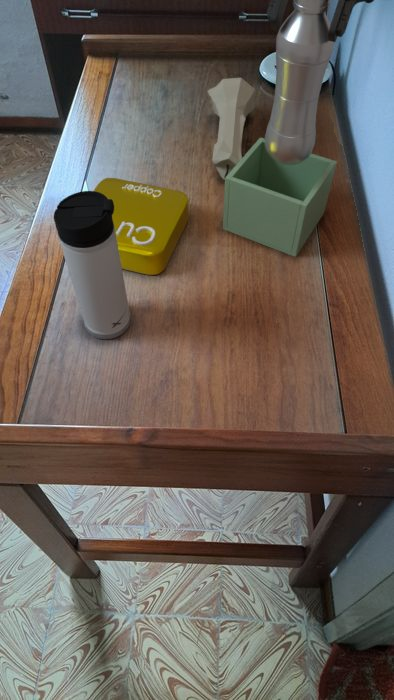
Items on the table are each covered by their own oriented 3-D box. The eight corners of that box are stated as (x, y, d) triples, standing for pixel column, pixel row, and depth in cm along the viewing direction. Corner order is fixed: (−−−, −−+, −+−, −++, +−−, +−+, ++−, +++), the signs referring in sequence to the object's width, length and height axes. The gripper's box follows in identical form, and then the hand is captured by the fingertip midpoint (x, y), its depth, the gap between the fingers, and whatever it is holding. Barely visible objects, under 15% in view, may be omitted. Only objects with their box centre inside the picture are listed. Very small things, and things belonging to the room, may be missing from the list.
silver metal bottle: (289, 178, 66) (318, 6, 50) (252, 154, 69) (269, -15, 53) (321, 158, 69) (360, -12, 52) (284, 136, 72) (310, -32, 55)
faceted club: (260, 106, 99) (256, 192, 86) (218, 115, 102) (208, 200, 88) (251, 61, 92) (246, 148, 79) (206, 72, 95) (194, 158, 81)
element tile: (192, 214, 83) (191, 189, 79) (160, 279, 74) (158, 255, 70) (107, 196, 85) (102, 171, 81) (67, 257, 77) (60, 233, 73)
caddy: (324, 213, 83) (337, 161, 75) (295, 257, 77) (306, 206, 69) (254, 188, 86) (260, 137, 78) (222, 229, 81) (224, 177, 73)
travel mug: (131, 339, 68) (110, 224, 52) (82, 340, 68) (46, 225, 52) (134, 304, 72) (115, 185, 55) (87, 304, 72) (54, 186, 55)
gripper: (286, -184, 49) (232, 3, 53) (437, -170, 46) (368, 29, 50) (295, -126, 56) (247, 35, 60) (426, -110, 53) (367, 60, 57)
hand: (302, 32), depth 55 cm, fingers closed on silver metal bottle, 6 cm apart
